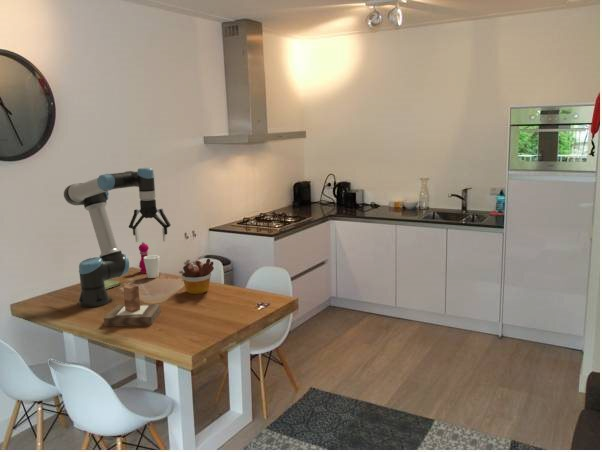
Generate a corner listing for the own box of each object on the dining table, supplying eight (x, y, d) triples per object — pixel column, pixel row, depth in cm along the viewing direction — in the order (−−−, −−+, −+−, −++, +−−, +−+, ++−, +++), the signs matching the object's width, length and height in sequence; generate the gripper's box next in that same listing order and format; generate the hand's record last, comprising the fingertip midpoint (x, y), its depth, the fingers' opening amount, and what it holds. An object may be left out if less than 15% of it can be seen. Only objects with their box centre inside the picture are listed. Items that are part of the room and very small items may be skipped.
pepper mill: (141, 270, 341) (138, 240, 337) (152, 270, 342) (150, 240, 338) (138, 273, 334) (136, 243, 330) (150, 273, 335) (147, 242, 331)
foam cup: (146, 280, 319) (145, 259, 317) (143, 276, 327) (142, 256, 325) (162, 278, 323) (161, 257, 321) (159, 274, 332) (157, 254, 329)
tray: (104, 326, 247) (103, 317, 246) (116, 312, 264) (115, 304, 264) (151, 324, 247) (151, 316, 246) (160, 311, 265) (160, 303, 264)
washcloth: (105, 291, 301) (105, 286, 300) (83, 288, 309) (83, 282, 308) (122, 285, 312) (122, 280, 312) (101, 281, 320) (100, 276, 319)
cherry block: (131, 312, 252) (129, 288, 249) (125, 310, 255) (123, 286, 252) (140, 309, 255) (138, 285, 253) (134, 307, 259) (132, 284, 256)
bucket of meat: (174, 293, 294) (172, 258, 290) (195, 285, 308) (193, 252, 304) (202, 298, 284) (200, 262, 280) (221, 289, 298) (220, 255, 294)
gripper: (174, 197, 265) (177, 238, 269) (124, 198, 264) (128, 240, 269) (171, 199, 258) (174, 242, 262) (119, 201, 257) (123, 243, 261)
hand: (150, 241), depth 265 cm, fingers open, 13 cm apart
